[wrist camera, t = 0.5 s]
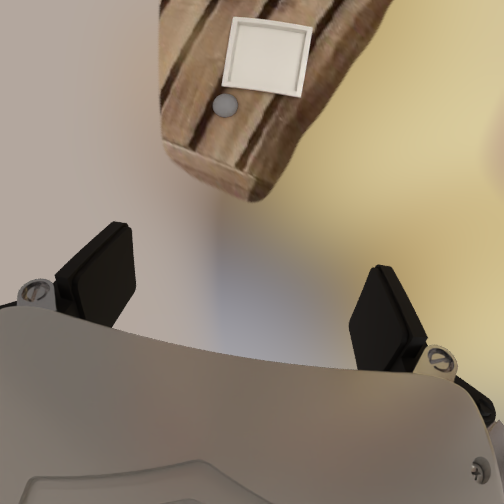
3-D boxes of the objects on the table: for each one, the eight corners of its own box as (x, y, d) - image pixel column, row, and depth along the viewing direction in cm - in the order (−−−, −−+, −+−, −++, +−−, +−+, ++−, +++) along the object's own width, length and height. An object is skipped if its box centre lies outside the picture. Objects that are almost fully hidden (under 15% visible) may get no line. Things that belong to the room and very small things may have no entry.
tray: (236, 22, 28) (233, 16, 26) (310, 32, 28) (312, 27, 25) (225, 87, 32) (221, 85, 30) (299, 97, 32) (300, 97, 30)
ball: (217, 93, 33) (212, 92, 30) (241, 95, 33) (237, 94, 30) (214, 115, 34) (208, 116, 31) (237, 118, 34) (234, 119, 31)
